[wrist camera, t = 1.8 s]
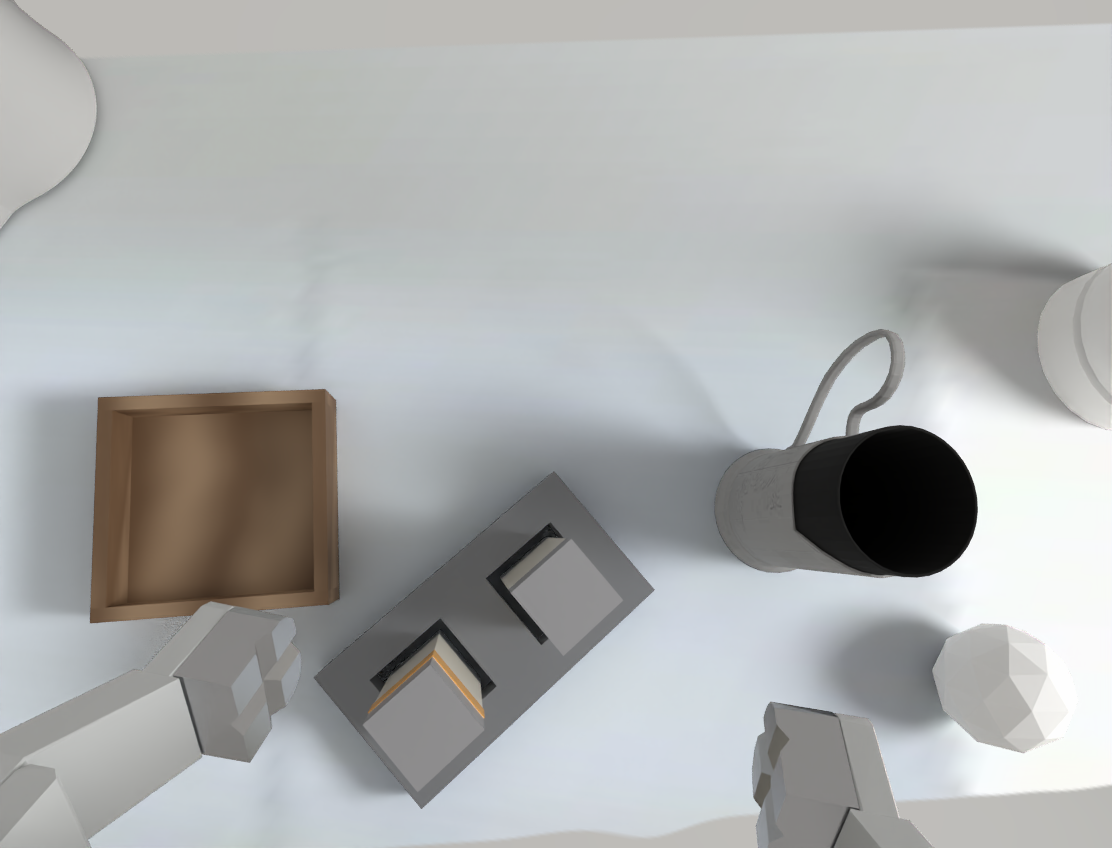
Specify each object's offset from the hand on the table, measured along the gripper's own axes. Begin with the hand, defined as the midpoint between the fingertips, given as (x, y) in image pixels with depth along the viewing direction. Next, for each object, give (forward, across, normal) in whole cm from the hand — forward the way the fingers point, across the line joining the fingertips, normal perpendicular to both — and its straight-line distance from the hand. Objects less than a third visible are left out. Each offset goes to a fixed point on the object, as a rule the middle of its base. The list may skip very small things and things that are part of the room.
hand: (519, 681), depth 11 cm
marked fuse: (+21, +10, +26) cm, 35 cm away
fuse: (+27, +4, +21) cm, 34 cm away
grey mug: (+36, -11, +16) cm, 41 cm away
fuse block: (+24, +7, +24) cm, 34 cm away
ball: (+31, -26, +27) cm, 49 cm away
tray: (+24, +24, +17) cm, 38 cm away
